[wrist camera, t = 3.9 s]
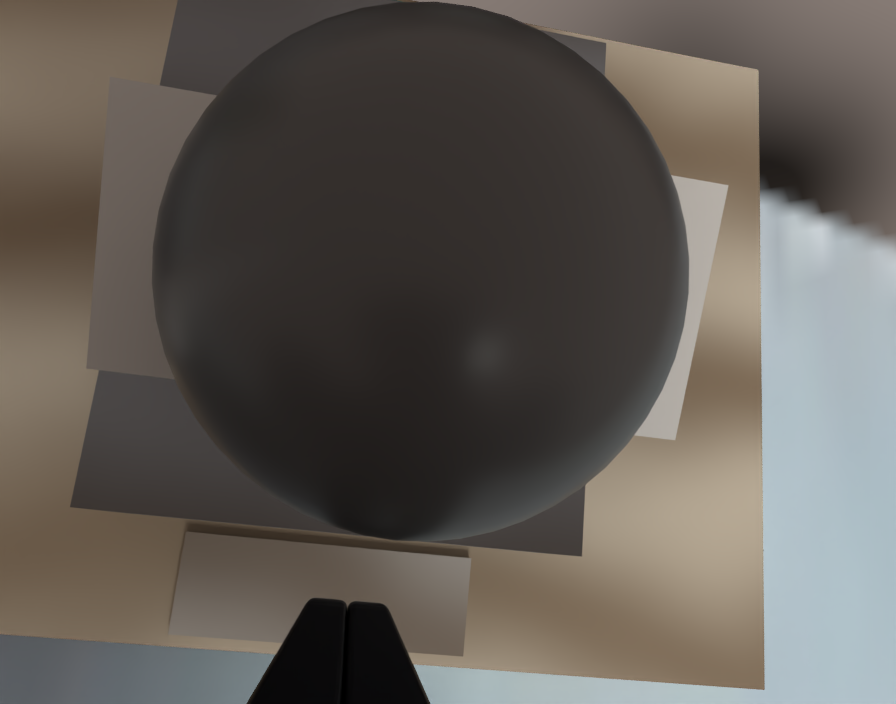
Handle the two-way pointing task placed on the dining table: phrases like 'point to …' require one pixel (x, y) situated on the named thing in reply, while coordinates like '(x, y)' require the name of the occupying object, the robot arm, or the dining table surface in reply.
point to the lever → (404, 268)
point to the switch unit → (283, 528)
